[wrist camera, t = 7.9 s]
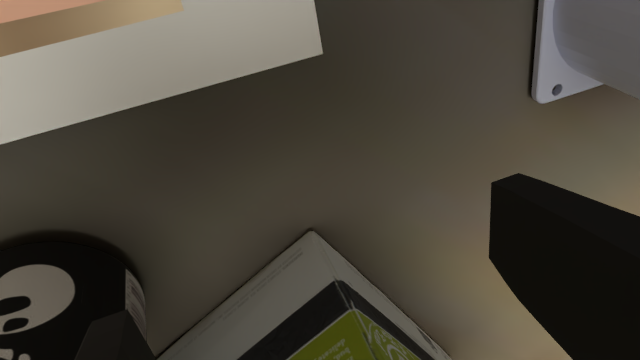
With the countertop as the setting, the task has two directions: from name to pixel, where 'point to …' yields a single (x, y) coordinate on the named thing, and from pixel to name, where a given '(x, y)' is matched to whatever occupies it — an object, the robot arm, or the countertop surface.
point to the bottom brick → (79, 22)
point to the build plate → (151, 61)
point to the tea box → (306, 316)
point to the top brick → (35, 7)
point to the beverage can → (60, 298)
